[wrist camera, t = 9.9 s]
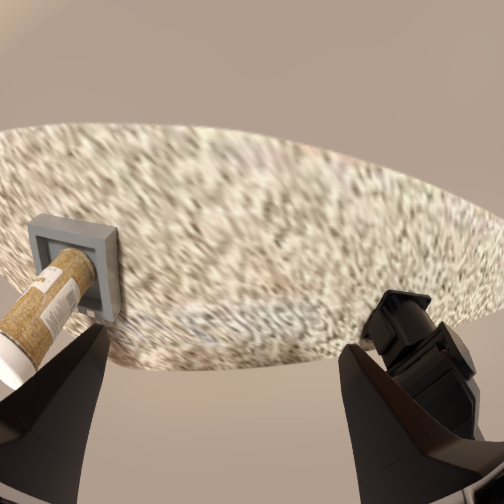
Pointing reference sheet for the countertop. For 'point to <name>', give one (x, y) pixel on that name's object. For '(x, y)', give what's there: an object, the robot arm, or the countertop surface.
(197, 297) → the countertop surface
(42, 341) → the sprinkles bottle
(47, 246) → the dish
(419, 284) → the countertop surface
